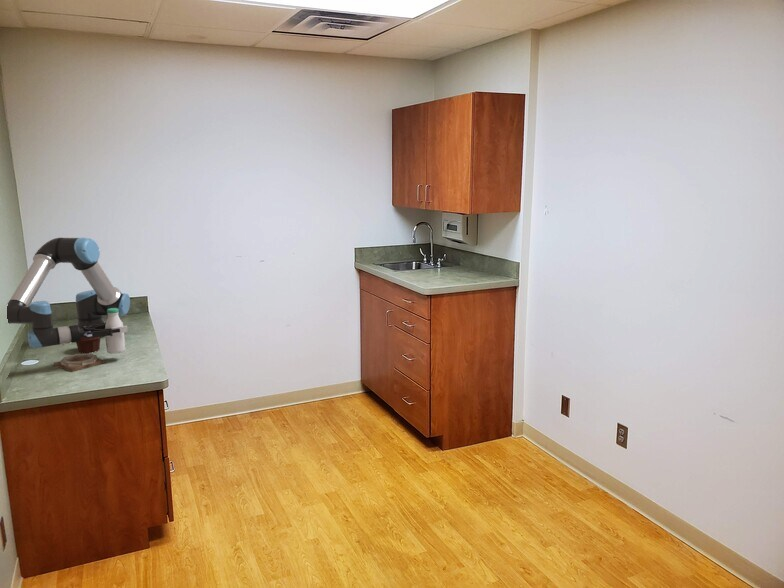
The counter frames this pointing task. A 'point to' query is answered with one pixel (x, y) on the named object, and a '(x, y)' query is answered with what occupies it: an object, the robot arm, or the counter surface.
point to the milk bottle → (117, 340)
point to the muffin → (88, 344)
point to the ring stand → (79, 362)
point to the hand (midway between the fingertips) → (125, 326)
